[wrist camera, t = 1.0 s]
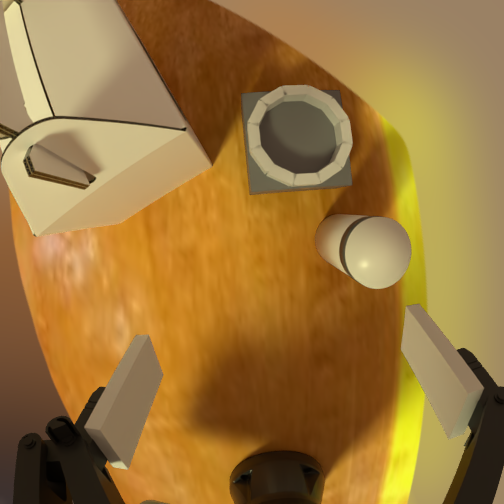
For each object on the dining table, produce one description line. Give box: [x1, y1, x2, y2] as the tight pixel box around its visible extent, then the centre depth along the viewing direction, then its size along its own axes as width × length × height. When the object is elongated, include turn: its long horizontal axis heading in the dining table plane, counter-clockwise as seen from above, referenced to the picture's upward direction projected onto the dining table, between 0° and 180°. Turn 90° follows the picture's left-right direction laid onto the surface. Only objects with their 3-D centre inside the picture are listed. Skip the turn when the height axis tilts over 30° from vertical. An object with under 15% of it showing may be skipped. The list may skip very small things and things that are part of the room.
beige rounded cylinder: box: [315, 214, 411, 289], centre depth 31 cm, size 6×6×12 cm
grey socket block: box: [241, 85, 353, 195], centre depth 31 cm, size 10×10×8 cm
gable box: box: [0, 0, 213, 237], centre depth 20 cm, size 22×13×28 cm, turn 29°
